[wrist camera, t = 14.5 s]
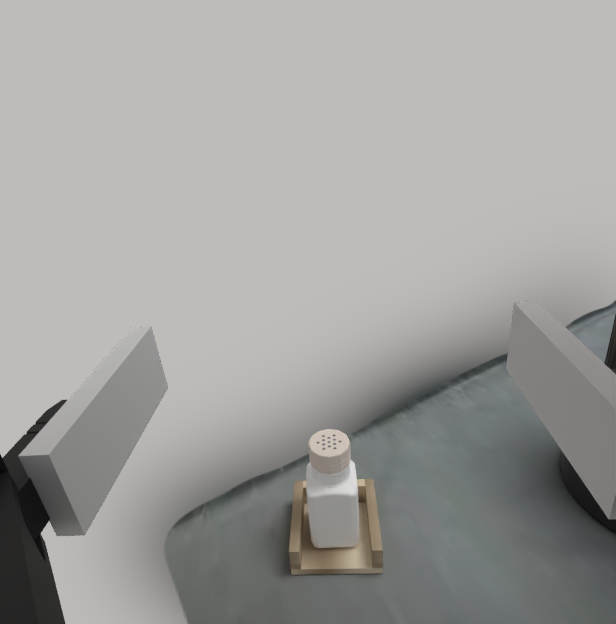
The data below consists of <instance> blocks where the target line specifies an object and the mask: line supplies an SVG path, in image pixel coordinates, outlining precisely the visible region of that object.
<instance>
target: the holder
mask: <svg viewBox="0 0 616 624" xmlns="http://www.w3.org/2000/svg"><path fill="white" fill-rule="evenodd" d="M357 486H358V505H359V534H360V539H359V541H358V544H357V545H356V546H353V547H335V548H317V547H314V545H313V543H312V541H311V534H310V524H309V514H308V503H307V493H306V481H295V483H294V495H293V507H292V518H291V530H290V542H289V559H290V566H291V574H292V575H298V574H371V573H383V549H382V541H381V534H380V526H379V519H378V511H377V503H376V496H375V488H374V481H373V479H357Z"/></svg>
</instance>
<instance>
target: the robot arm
mask: <svg viewBox="0 0 616 624" xmlns="http://www.w3.org/2000/svg"><path fill="white" fill-rule="evenodd" d="M506 369H507V371H508V372H509V374H510V375H511V377H512V378H513V380H514V381H515V383H516V384H517V386H518V387H519V388H520V390H521V391H522V393H523V394H524V396H525V397H526V399H527V400H528V402H529V403H530V405H531V406H532V408H533V409H534V410H535V412H536V413H537V415H538V416H539V418H540V419H541V421H542V422H543V424H544V425H545V427H546V428H547V430H548V431H549V432H550V434H551V435H552V437H553V438H554V440H555V441H556V443H557V444H558V446H559V447H560V449H561V450H562V455H561V460H560V469H561V474H562V477H563V480H564V482H565V484H566V486H567V487H568V489H569V491H570V492H571V494H572V495H573V496H574V497H575V499H576V500H577V501H578V502H579V503H580V504H581V505H582V506H583V507H584V508H585V509H586V510H587V511H588V512H589V513H590V514H591V515H592V516H594V517H595V518H596V519H597V520H598V521H600V522H601V523H603V524H604V525H605V526H607V527H608V528H610V529H611V530H613V531H614V532H616V315H615V320H614V324H613V329H612V333H611V338H610V342H609V346H608V351H607V355H606V360H605V364H604V363H603V362H602V361H601V360H600V359H599V358H598V357H597V356H595V355H594V354H593V353H592V352H591V351H590V350H589V349H588V348H587V347H586V346H585V345H584V344H583V343H581V342H580V341H579V340H578V339H577V338H576V337H575V336H574V335H573V334H572V333H571V332H570V331H569V330H568V329H566V328H565V327H564V326H563V325H562V324H561V323H560V322H559V321H558V320H557V319H556V318H555V317H554V316H552V315H551V314H550V313H549V312H548V311H547V310H546V309H545V308H544V307H543V306H542V305H541V304H540V303H538V302H537V301H525V302H514V306H513V315H512V324H511V332H510V341H509V349H508V358H507V367H506ZM167 389H168V386H167V382H166V378H165V375H164V371H163V367H162V364H161V360H160V356H159V353H158V349H157V346H156V342H155V338H154V335H153V331H152V327H137V328H131V329H130V330H129V331H128V333H126V335H125V336H124V337H123V338H122V339H121V340H120V342H119V343H118V344H117V345H116V346H115V347H114V348H113V349H112V350H111V352H110V353H109V354H108V355H107V356H106V357H105V358H104V360H103V361H102V362H101V363H100V364H99V365H98V366H97V367H96V369H95V370H94V371H93V372H92V373H91V374H90V375H89V376H88V378H87V379H86V380H85V381H84V382H83V383H82V384H81V386H80V387H79V388H78V389H77V390H76V391H75V392H74V393H73V395H72V396H71V397H70V398H69V399H68V400H62V401H60V402H59V403H57V404H56V405H54V406H53V407H51V408H50V409H48V410H47V411H46V412H45V413H44V414H43V415H42V416H41V417H40V418H39V419H38V420H37V421H36V424H35V425H33V426H32V427H31V428H30V429H29V430H28V431H27V434H26V435H24V436H23V437H22V438H21V439H20V440H19V441H18V442H17V443H16V444H15V445H14V447H12V449H11V450H10V451H9V452H8V453H7V454H6V455H5V456H4V457H3V458H2V457H1V455H0V624H65V620H64V617H63V612H62V609H61V605H60V601H59V597H58V593H57V589H56V585H55V581H54V577H53V573H52V569H51V565H50V561H49V557H48V553H47V549H46V545H45V542H44V540H43V538H42V536H41V534H40V533H41V532H42V530H43V528H44V527H45V526H46V524H47V523H48V521H50V523H51V525H52V527H53V529H54V531H55V533H56V535H57V536H74V535H85V534H86V532H87V530H88V528H89V527H90V525H91V523H92V522H93V520H94V518H95V516H96V514H97V513H98V511H99V509H100V507H101V506H102V504H103V502H104V500H105V499H106V497H107V495H108V493H109V491H110V490H111V488H112V486H113V484H114V483H115V481H116V479H117V477H118V475H119V474H120V472H121V470H122V468H123V467H124V465H125V463H126V461H127V459H128V458H129V456H130V454H131V452H132V450H133V449H134V447H135V445H136V443H137V442H138V440H139V438H140V437H141V435H142V433H143V431H144V429H145V428H146V426H147V424H148V422H149V421H150V419H151V417H152V415H153V414H154V412H155V410H156V408H157V407H158V405H159V403H160V401H161V399H162V398H163V396H164V394H165V392H166V391H167Z"/></svg>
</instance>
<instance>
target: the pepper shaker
mask: <svg viewBox="0 0 616 624" xmlns="http://www.w3.org/2000/svg"><path fill="white" fill-rule="evenodd" d="M308 446H309V455H310V456H309V457H310V463H309V464H308V465H307V475H306V493H307V503H308V514H309V524H310V534H311V541H312V543H313V545H314V547H317V548H335V547H353V546H356V545H357V544H358V541H359V539H360V534H359V505H358V486H357V477H356V469H355V463H354V462H353V461H351V454H350V441H349V439H348V437H347V435H346V434H344V433H342V432H341V431H339V430H332V429H326V430H322V431H318V432H317V433H315V434H314V435H313V436H312V437H311V438H310V441H309V445H308Z"/></svg>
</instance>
